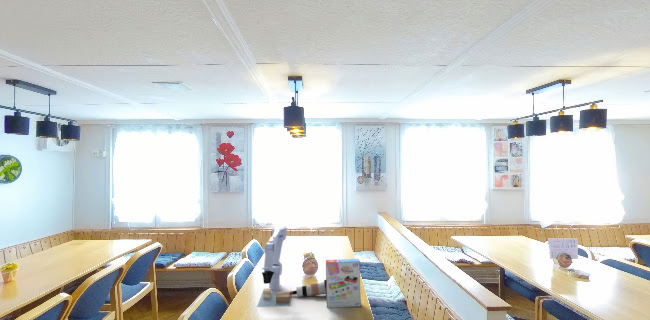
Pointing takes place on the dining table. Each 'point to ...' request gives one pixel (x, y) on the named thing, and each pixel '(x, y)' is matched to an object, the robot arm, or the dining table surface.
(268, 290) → the maple cube
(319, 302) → the dining table surface
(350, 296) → the game box
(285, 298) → the walnut base
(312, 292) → the cable
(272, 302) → the mat
